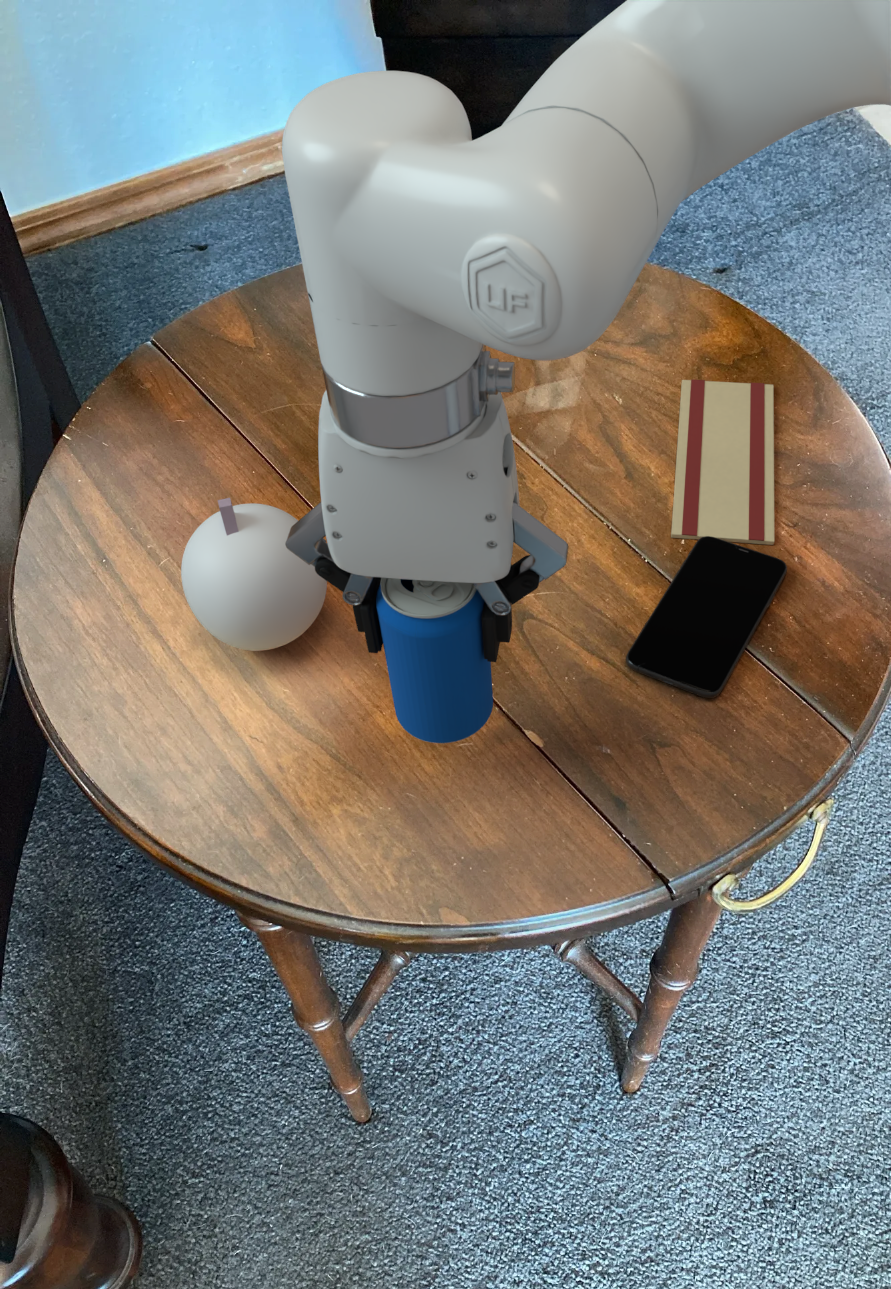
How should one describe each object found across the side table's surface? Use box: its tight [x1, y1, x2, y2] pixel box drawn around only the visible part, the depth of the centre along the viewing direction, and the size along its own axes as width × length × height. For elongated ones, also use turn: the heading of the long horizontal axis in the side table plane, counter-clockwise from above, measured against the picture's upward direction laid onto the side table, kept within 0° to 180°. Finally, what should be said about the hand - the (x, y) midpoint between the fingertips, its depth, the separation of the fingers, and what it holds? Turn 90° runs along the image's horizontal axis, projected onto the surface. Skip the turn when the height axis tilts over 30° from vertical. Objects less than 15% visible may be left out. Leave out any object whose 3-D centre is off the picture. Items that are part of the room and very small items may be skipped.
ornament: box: [180, 497, 328, 652], centre depth 78 cm, size 10×10×12 cm
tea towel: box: [670, 379, 775, 546], centre depth 91 cm, size 8×20×1 cm, turn 171°
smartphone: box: [625, 536, 788, 699], centre depth 80 cm, size 7×1×15 cm
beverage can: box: [376, 577, 494, 744], centre depth 66 cm, size 6×6×12 cm
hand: (436, 638), depth 66 cm, fingers closed on beverage can, 6 cm apart
